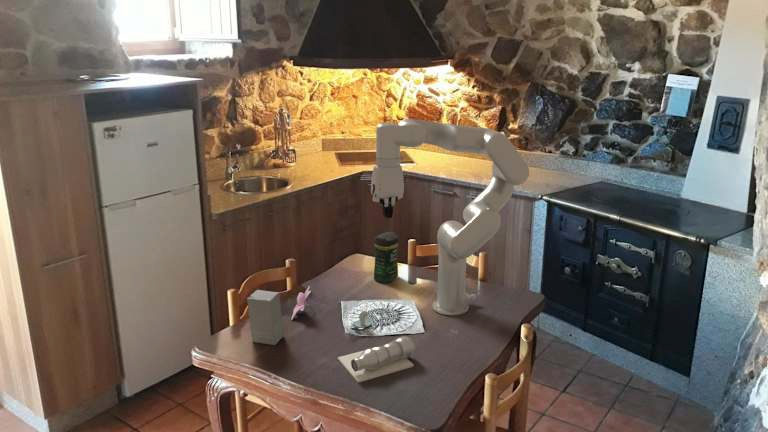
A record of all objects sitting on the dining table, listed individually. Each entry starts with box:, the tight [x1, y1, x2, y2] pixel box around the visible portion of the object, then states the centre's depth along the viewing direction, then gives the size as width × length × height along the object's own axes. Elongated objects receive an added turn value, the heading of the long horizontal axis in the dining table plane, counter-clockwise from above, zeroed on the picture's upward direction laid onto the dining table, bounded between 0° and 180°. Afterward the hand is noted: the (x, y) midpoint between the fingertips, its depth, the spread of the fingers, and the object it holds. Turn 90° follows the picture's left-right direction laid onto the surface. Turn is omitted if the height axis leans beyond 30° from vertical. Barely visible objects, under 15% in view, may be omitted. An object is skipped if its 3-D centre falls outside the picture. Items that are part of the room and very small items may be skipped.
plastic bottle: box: [351, 335, 416, 372], centre depth 178 cm, size 6×7×20 cm
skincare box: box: [246, 289, 285, 346], centre depth 191 cm, size 8×7×16 cm
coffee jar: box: [373, 231, 400, 283], centre depth 237 cm, size 10×8×19 cm
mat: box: [337, 349, 414, 383], centre depth 181 cm, size 18×14×1 cm
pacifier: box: [350, 310, 373, 329], centre depth 201 cm, size 7×6×6 cm
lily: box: [291, 285, 316, 321], centre depth 209 cm, size 12×12×10 cm
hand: (387, 217), depth 200 cm, fingers closed
